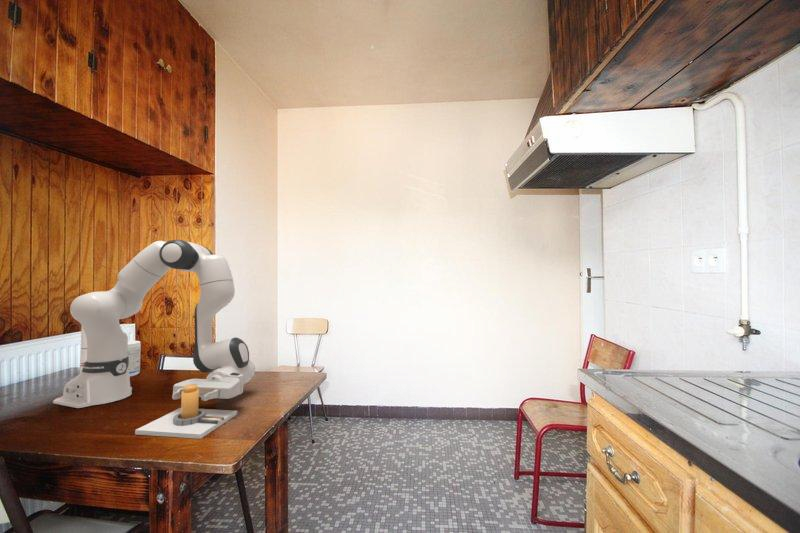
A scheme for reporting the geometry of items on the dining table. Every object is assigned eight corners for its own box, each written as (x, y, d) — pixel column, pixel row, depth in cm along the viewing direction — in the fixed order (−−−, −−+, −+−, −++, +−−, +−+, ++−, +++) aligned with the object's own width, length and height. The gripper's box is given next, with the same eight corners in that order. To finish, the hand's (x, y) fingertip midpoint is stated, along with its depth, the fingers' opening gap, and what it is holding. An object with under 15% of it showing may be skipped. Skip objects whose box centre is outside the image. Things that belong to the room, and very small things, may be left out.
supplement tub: (111, 375, 147) (113, 342, 148) (138, 371, 153) (139, 339, 154) (112, 380, 140) (114, 345, 140) (140, 375, 146) (141, 342, 147)
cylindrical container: (87, 378, 142) (90, 320, 143) (75, 377, 144) (77, 320, 145) (105, 373, 149) (107, 318, 150) (93, 372, 151) (95, 318, 152)
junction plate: (135, 434, 91) (135, 424, 91) (180, 411, 107) (180, 402, 107) (200, 438, 88) (200, 428, 89) (237, 414, 104) (237, 406, 104)
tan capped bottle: (177, 422, 96) (177, 388, 96) (188, 416, 100) (189, 383, 101) (190, 423, 95) (191, 388, 96) (201, 417, 100) (202, 383, 100)
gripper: (192, 372, 112) (157, 385, 99) (247, 374, 110) (219, 388, 96) (191, 390, 112) (157, 406, 98) (247, 393, 110) (219, 410, 96)
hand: (188, 397), depth 97 cm, fingers open, 8 cm apart
